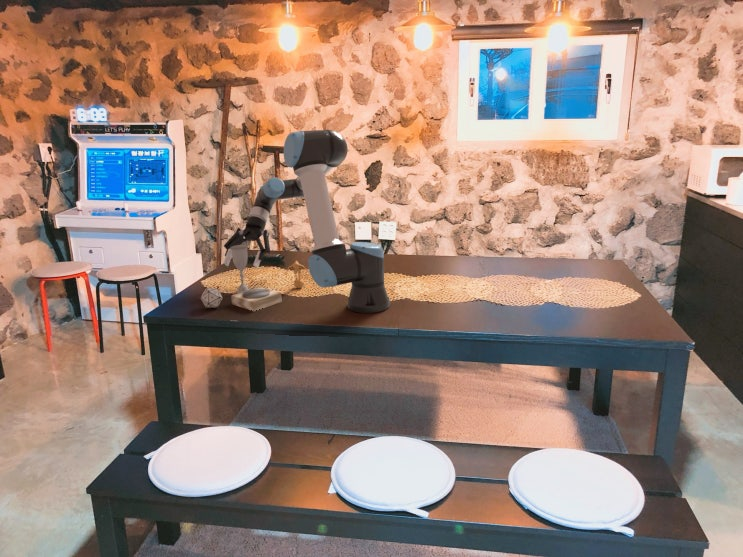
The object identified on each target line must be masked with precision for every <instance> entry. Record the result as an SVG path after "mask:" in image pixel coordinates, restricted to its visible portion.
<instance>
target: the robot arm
mask: <svg viewBox="0 0 743 557" xmlns="http://www.w3.org/2000/svg"><path fill="white" fill-rule="evenodd" d="M348 151H349V149H348V142H347V141H346V139H345V138H344V136H343V134H341V133H339V131H335V130H333V129H319V130H317V129H315V130H314V129H313V130H298V131H293V132H290V133H288V134H287V136H286V137H285V140H284V145H283V159H284V163H285V164H286V167H288V168H290V169H291V168H292V169H293V174H294V175H295V176H297V177H296V178H292V179H281V178H278V177H270V178H269V179H268V180H267V181H266V182H265V183H264V184H263V185H261V186H260V188H259V190H258V191H257V194H256V196H255V200H254V203H253V205H252V206H251V209H250V212H249V214H248V218H247V221H246V223H245V228H244V229H242V228H240V227H237V229H236V231H235V232H234V234H233V235H232V236H231V237H230V238H229V239H228V240H227V241H226V242H225V243H224V245H223V247H224V248H225V249H226V251H225V254H224V260H223V264H224V265H225V266H226V267H229V265H230V263H231V260H232V250H231V249H230V247H232V246H236V245H243V244H244V243H246V242H255V241H256V244H257V246H258V248H259V250H257V254H256V256H255V258H254V259H255V260H254V261H253V263H252V266H253V267H254V268H255V269H257V270H258V269H259V267H260V264H261V261H263V260H264V257H265V255H266V254H267V253H268V254H270V253H271V246H270V239H269V236H270V233H269V231H268V230H267V229H265V228H266V226H267V222H268V220H269V217H270V214H271V211H272V209H273V206H274V205H275V203H277V201H279V200H286V199H287V200H288V199H296V198H304V202H305V207H306V211H307V212H306V213H307V217H308V221H309V225H310V230H311V234H312V237H313V238H312V239H313V242H314V243H313V244H314V246H313V248H312V249H311V254H312V255H310V256H309V258H308V260H307V263H308V267H307V268H308V272H309V273H310V276H311V278H312V280H313V282H314V283H316V285H317V286H319V287H320V288H330V287H331V288H333V287H337V286H341V285H346V284H350V283H351V288H350V291H349V295H348V299H347V308H348V309H349V310H350V311H352V312H355V313H363V314H372V313H374V314H375V313H379V312H383V311H386V310H387V309H389V308H390V306H391V305H390V304H391V303H390V297H389V295H388V293H387V289H386V286H385V262H384V261H385V260H384V259H385V256H384V255H385V254H384V249H383V246H381V245H380V244H377V243H373V242H368V241H367V242H366V241H364V242H363V241H357V242H351V243H350V245H349V248H347V247H346V244H345V242H343V241H342V240H341V239H340V238H339V232H338V227H337V224H336V219H335V215H334V210H333V205H332V201H331V197H330V193H329V187H328V183H327V179H326V176H327V174H329V172H331V170H332V169H333V168H338V167H340V165H341V164H342V163H344V161H345V160H346V158H347V156H348ZM261 236H262V239H263V243H264V244H263V243H262V241H261V239H260V237H261Z"/></svg>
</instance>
